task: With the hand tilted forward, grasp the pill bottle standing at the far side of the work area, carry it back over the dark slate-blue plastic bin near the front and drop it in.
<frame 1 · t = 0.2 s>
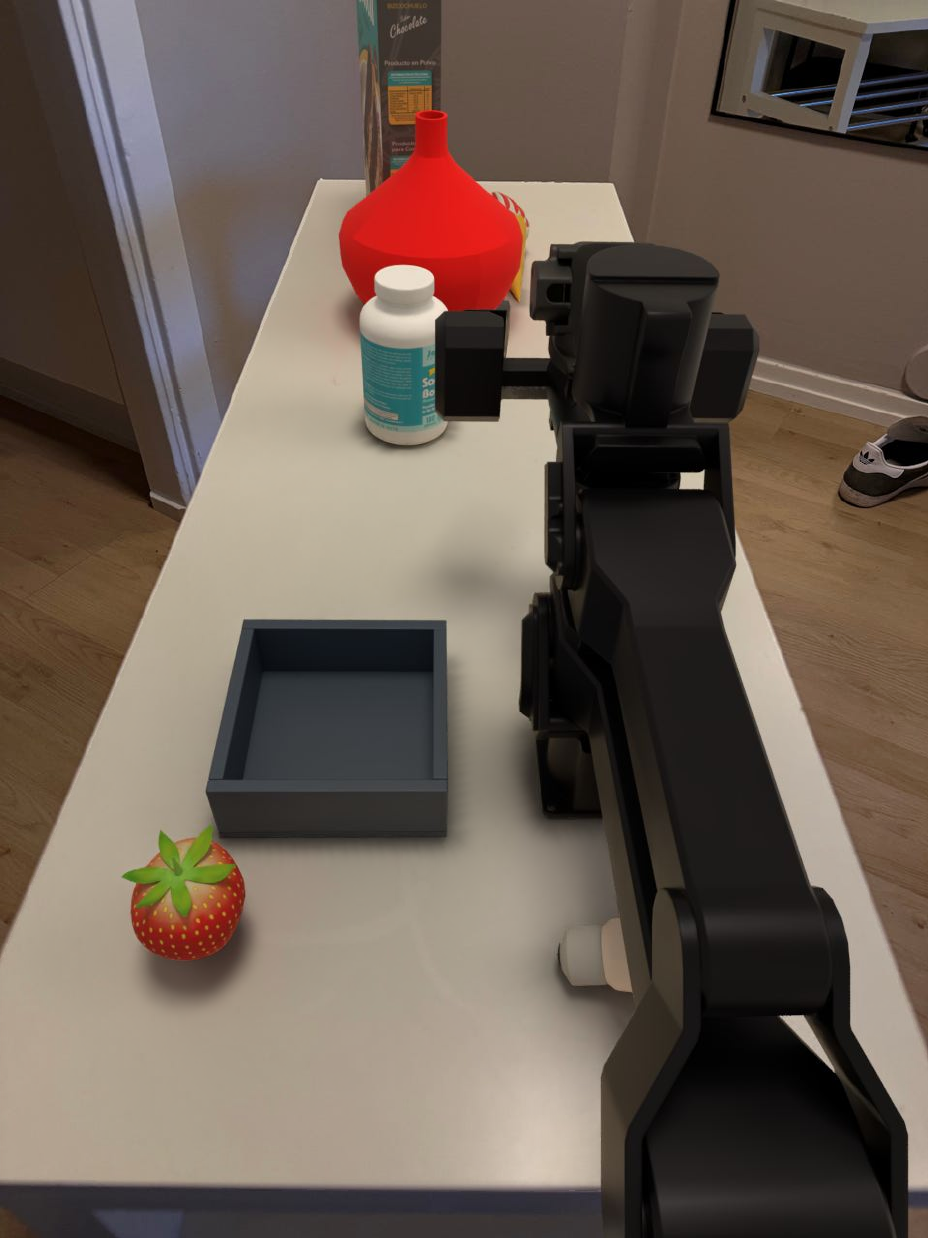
hand: (574, 307, 58), 17 cm above the table, tool horizontal, fingers open, 9 cm apart
fruit: (206, 938, 44), on the table
pill bottle: (407, 427, 78), on the table
cake mix box: (400, 241, 106), on the table, touching vase
ice cream cone: (500, 266, 102), on the table
light bulb: (660, 974, 44), on the table
vase: (431, 317, 92), on the table, touching cake mix box
bin: (342, 745, 53), on the table
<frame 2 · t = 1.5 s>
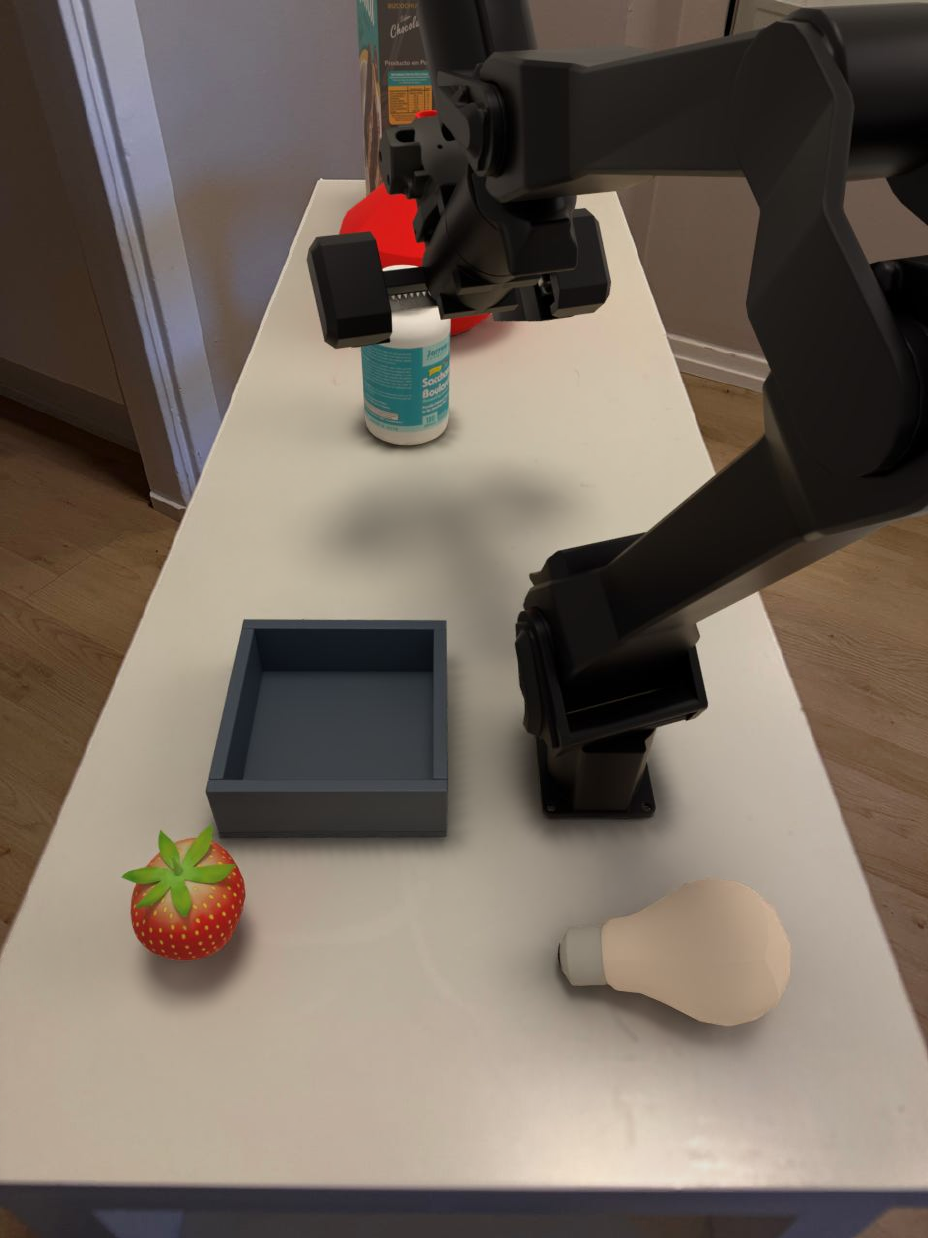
hand: (434, 321, 63), 14 cm above the table, tool tilted 45°, fingers open, 9 cm apart
nothing on the table moved.
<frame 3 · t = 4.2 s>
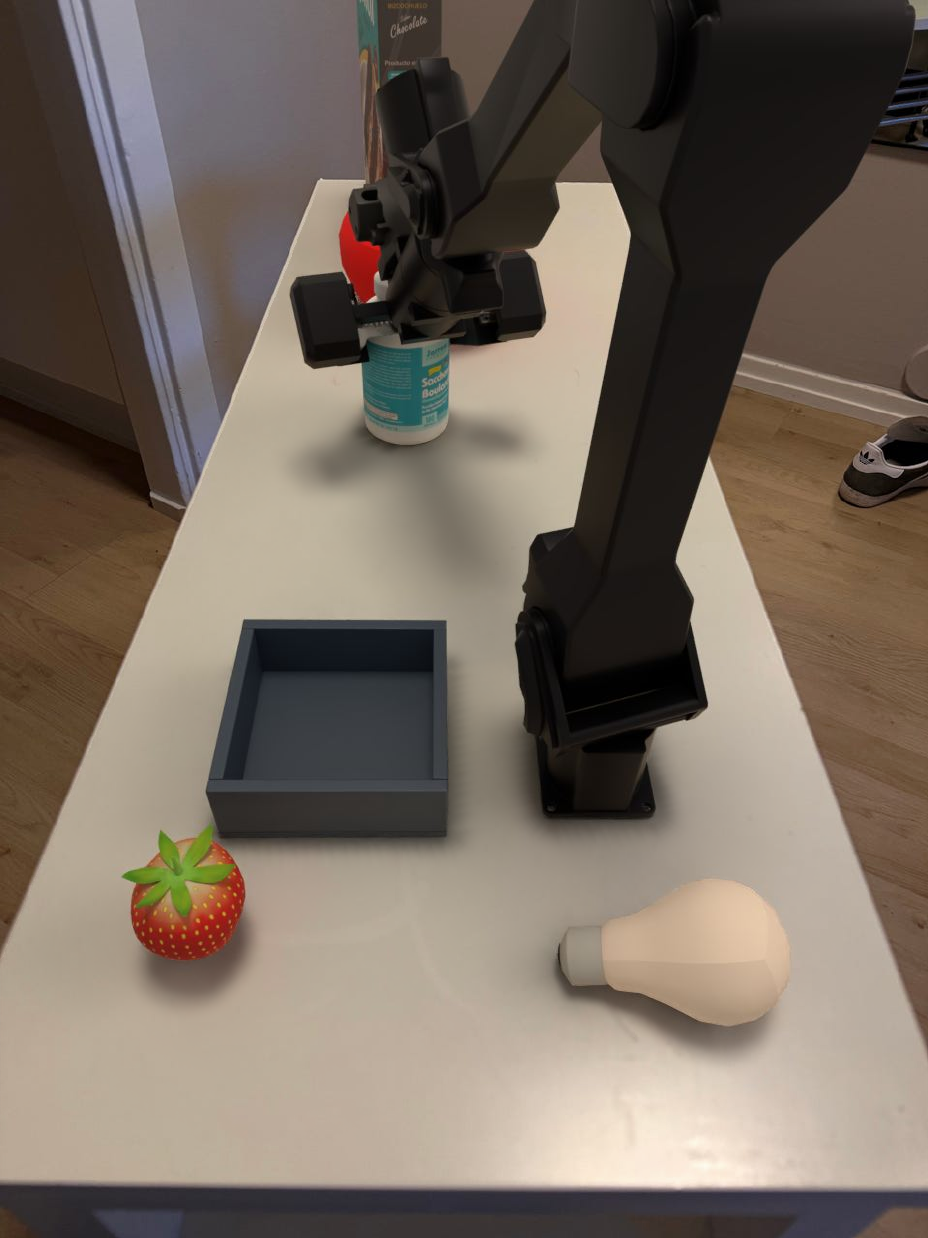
hand: (401, 343, 73), 7 cm above the table, tool tilted 45°, fingers closed on pill bottle, 7 cm apart
pill bottle: (407, 427, 78), on the table, touching gripper
everything else where it was.
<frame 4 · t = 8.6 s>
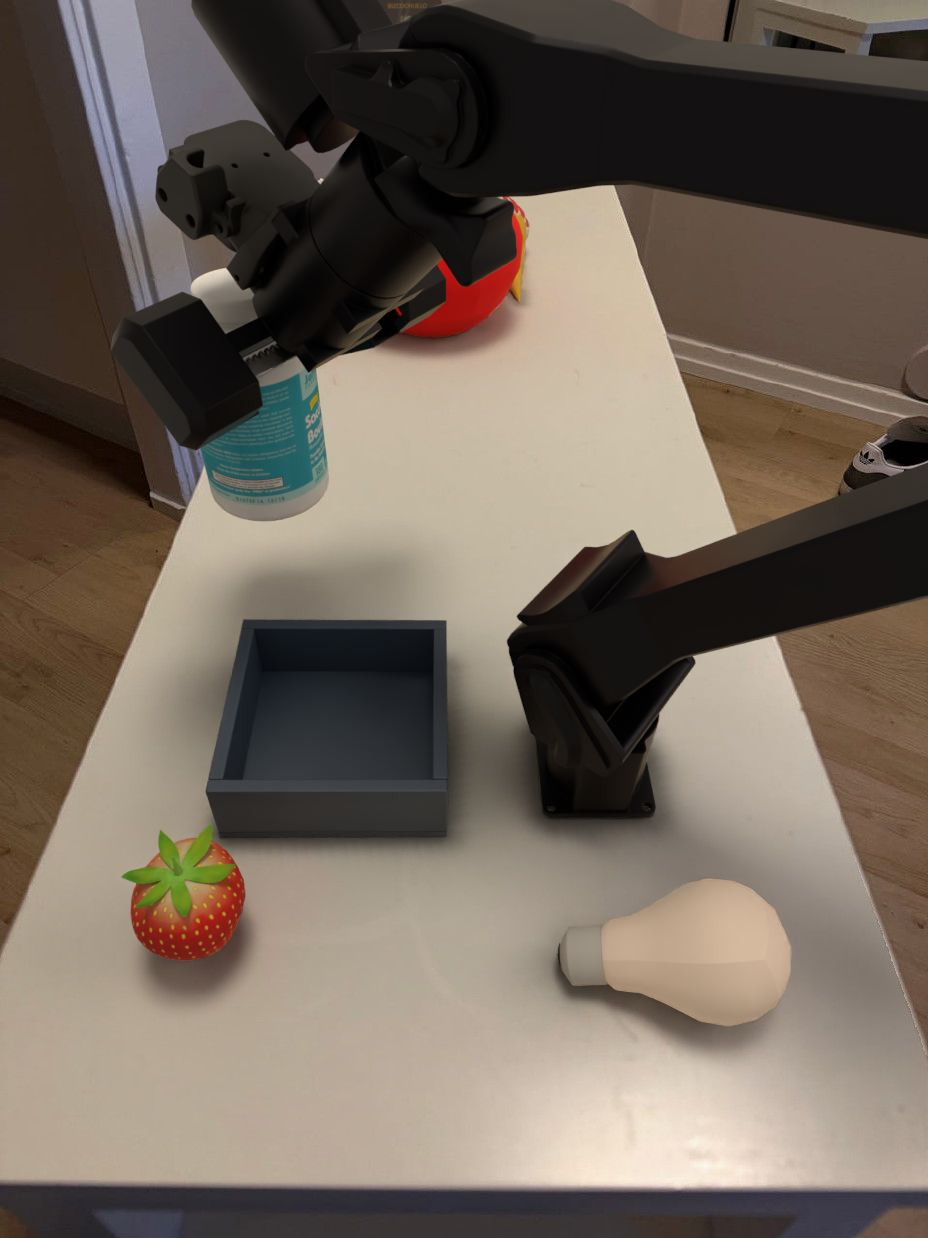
hand: (238, 383, 51), 16 cm above the table, tool tilted 45°, fingers closed on pill bottle, 7 cm apart
pill bottle: (272, 493, 56), point 9 cm above the table, touching gripper
everything else where it was.
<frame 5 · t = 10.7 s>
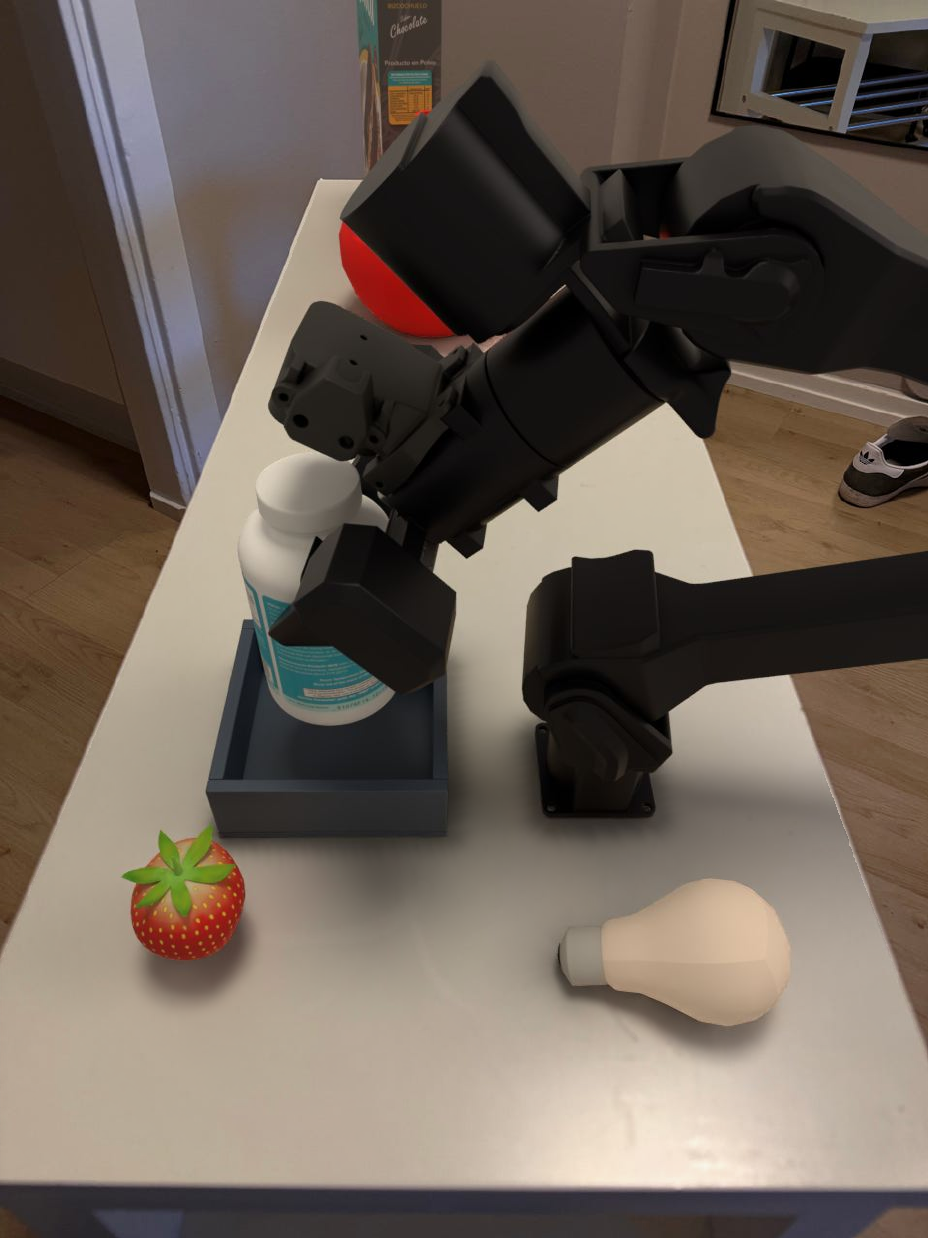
hand: (297, 582, 44), 13 cm above the table, tool tilted 45°, fingers closed on pill bottle, 7 cm apart
pill bottle: (336, 681, 49), point 6 cm above the table, touching gripper
cake mix box: (400, 241, 106), on the table
vase: (431, 317, 92), on the table
everything else where it was.
when the fingers open (8 cm above the table, at t = 12.9 s): pill bottle stays where it is, resting on bin.
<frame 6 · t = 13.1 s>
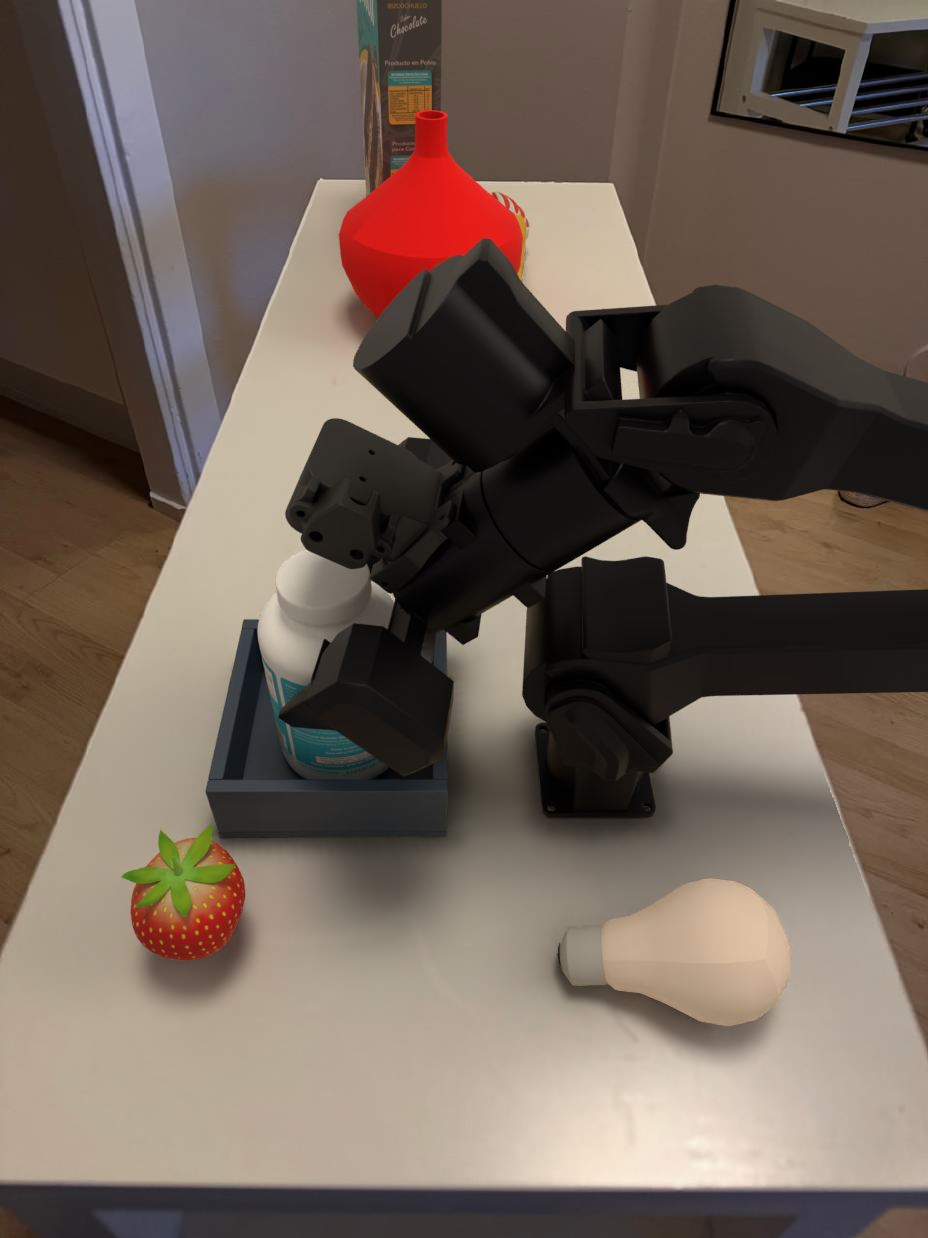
hand: (306, 655, 47), 8 cm above the table, tool tilted 45°, fingers open, 8 cm apart
pill bottle: (344, 743, 53), resting on bin
everything else where it was.
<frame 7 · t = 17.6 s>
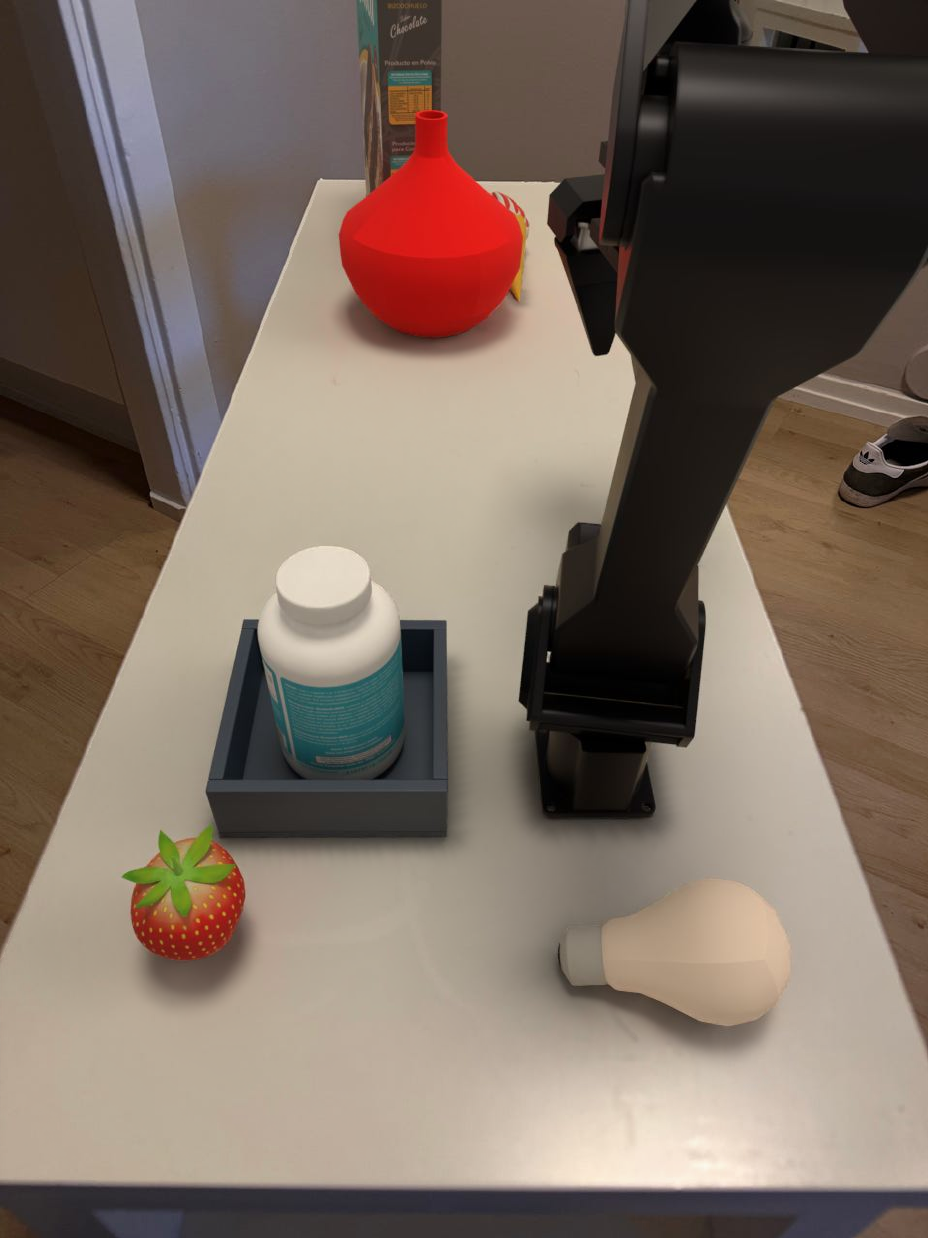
hand: (626, 392, 56), 14 cm above the table, tool pointing down, fingers open, 9 cm apart
nothing on the table moved.
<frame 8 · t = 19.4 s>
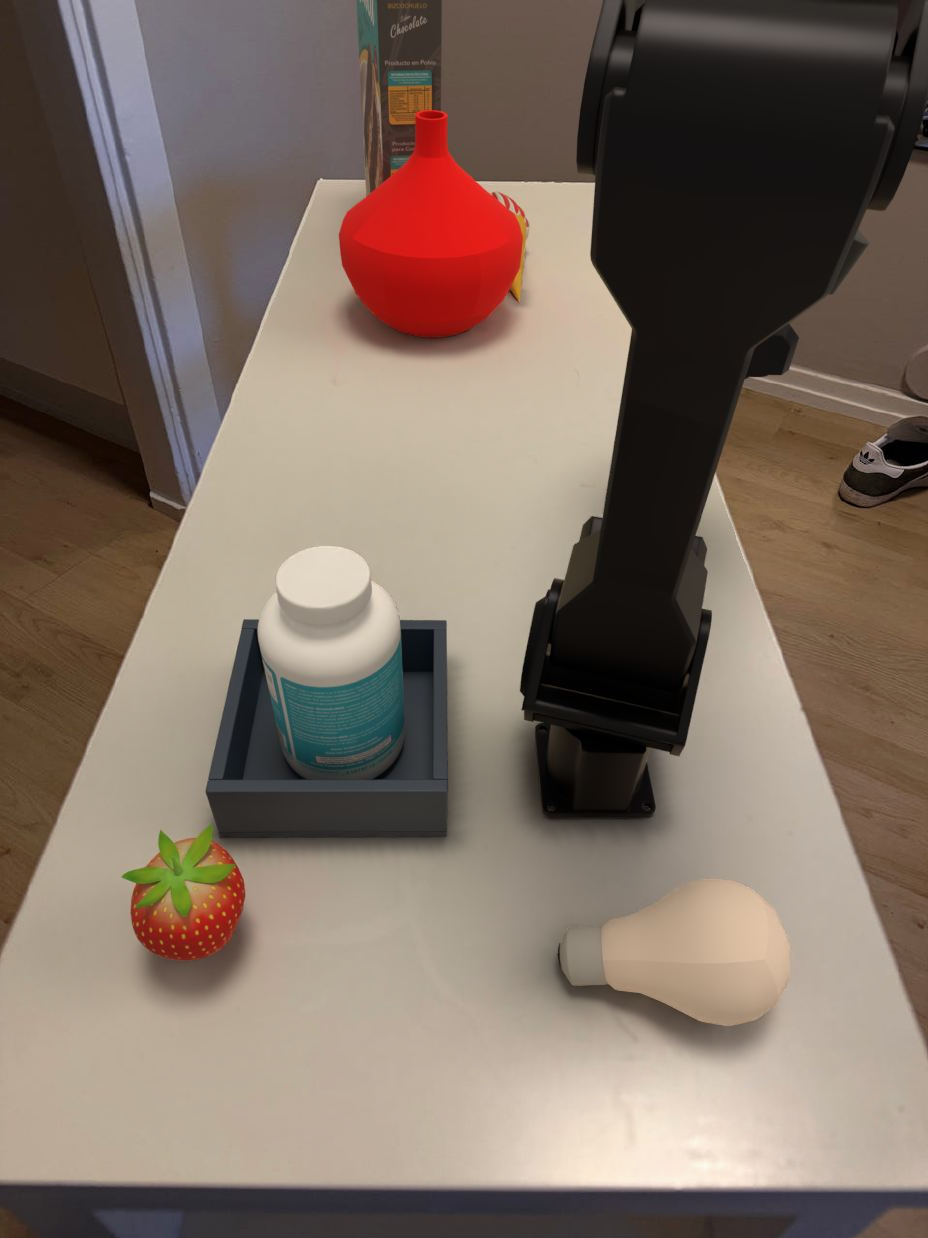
hand: (671, 402, 57), 13 cm above the table, tool pointing down, fingers open, 9 cm apart
nothing on the table moved.
at the end: pill bottle inside the target area in the bin (0.1 cm from its centre), point 0.3 cm above the bin's base; the gripper is holding nothing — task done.
